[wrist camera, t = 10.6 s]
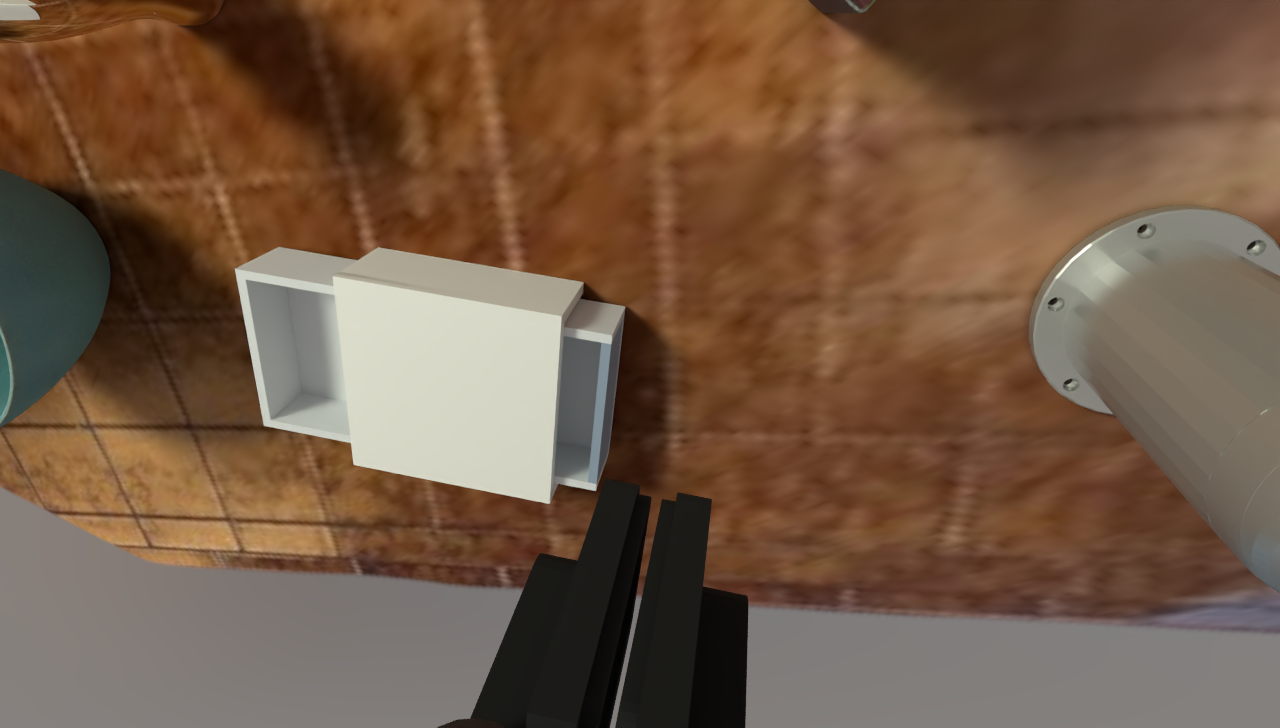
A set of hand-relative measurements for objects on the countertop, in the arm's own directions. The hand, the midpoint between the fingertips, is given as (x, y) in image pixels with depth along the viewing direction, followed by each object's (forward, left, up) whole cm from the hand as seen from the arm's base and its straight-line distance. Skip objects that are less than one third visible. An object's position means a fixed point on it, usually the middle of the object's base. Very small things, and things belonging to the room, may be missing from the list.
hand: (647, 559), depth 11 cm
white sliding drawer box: (+17, +16, -32) cm, 40 cm away
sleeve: (+15, +16, -32) cm, 39 cm away
